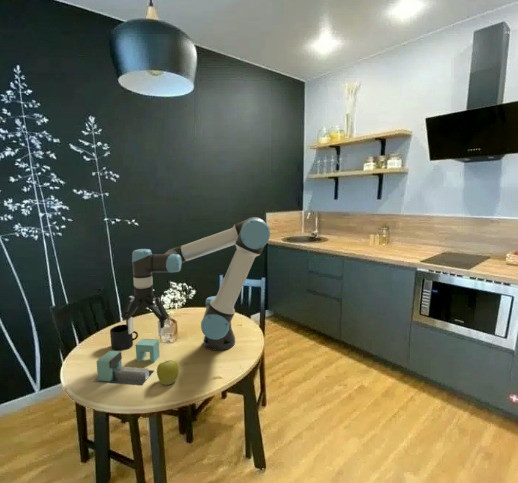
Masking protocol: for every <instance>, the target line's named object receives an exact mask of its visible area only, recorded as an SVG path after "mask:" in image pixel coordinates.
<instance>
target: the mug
mask: <svg viewBox="0 0 518 483" xmlns="http://www.w3.org/2000/svg"><path fill="white" fill-rule="evenodd" d="M109 334H110V336H109V337H110V346H111V348H110V349H111V350H112V351H126V350H129V349H131V348H132V347H133V345H134V341H136V340H137V339H138V337H139V333H138V332H137V331H136V330H134V332H132V333H131V334H129V333H128V326H127V325H126V324H119V325H115V326H112V328H110V329H109ZM133 334H135V337H134V338H133Z"/></svg>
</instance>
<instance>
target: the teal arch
mask: <svg viewBox="0 0 518 483" xmlns="http://www.w3.org/2000/svg"><path fill="white" fill-rule="evenodd" d="M147 353H149V360H150V361H149V362H150V363H155V362H156V361H157V360H158V359H159V358H160V342H159V340H158V339H153V338H152V339H151V338H150V339H149V338H141V339H140V340H139V341H137V342H136V344H135V355H136V356H135V358H136V362H140V363H141V362H142V361H143V360H145V358H146V357H147Z"/></svg>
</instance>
